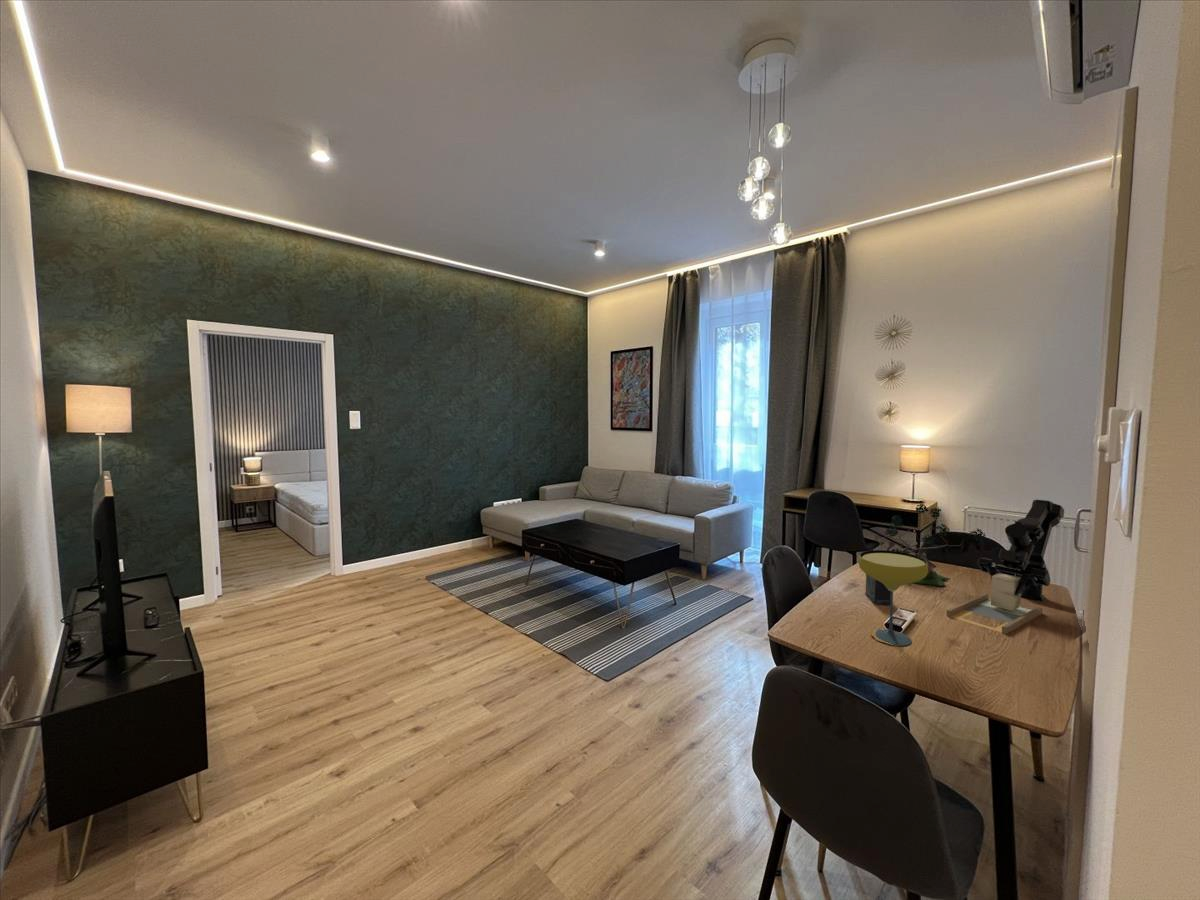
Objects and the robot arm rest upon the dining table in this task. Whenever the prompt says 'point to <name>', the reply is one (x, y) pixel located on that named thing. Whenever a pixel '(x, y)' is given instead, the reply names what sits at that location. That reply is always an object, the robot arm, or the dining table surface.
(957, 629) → the dining table surface
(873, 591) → the small box
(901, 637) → the cocktail glass
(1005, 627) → the trough deck
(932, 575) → the bonsai tree
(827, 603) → the dining table surface
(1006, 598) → the maple block
